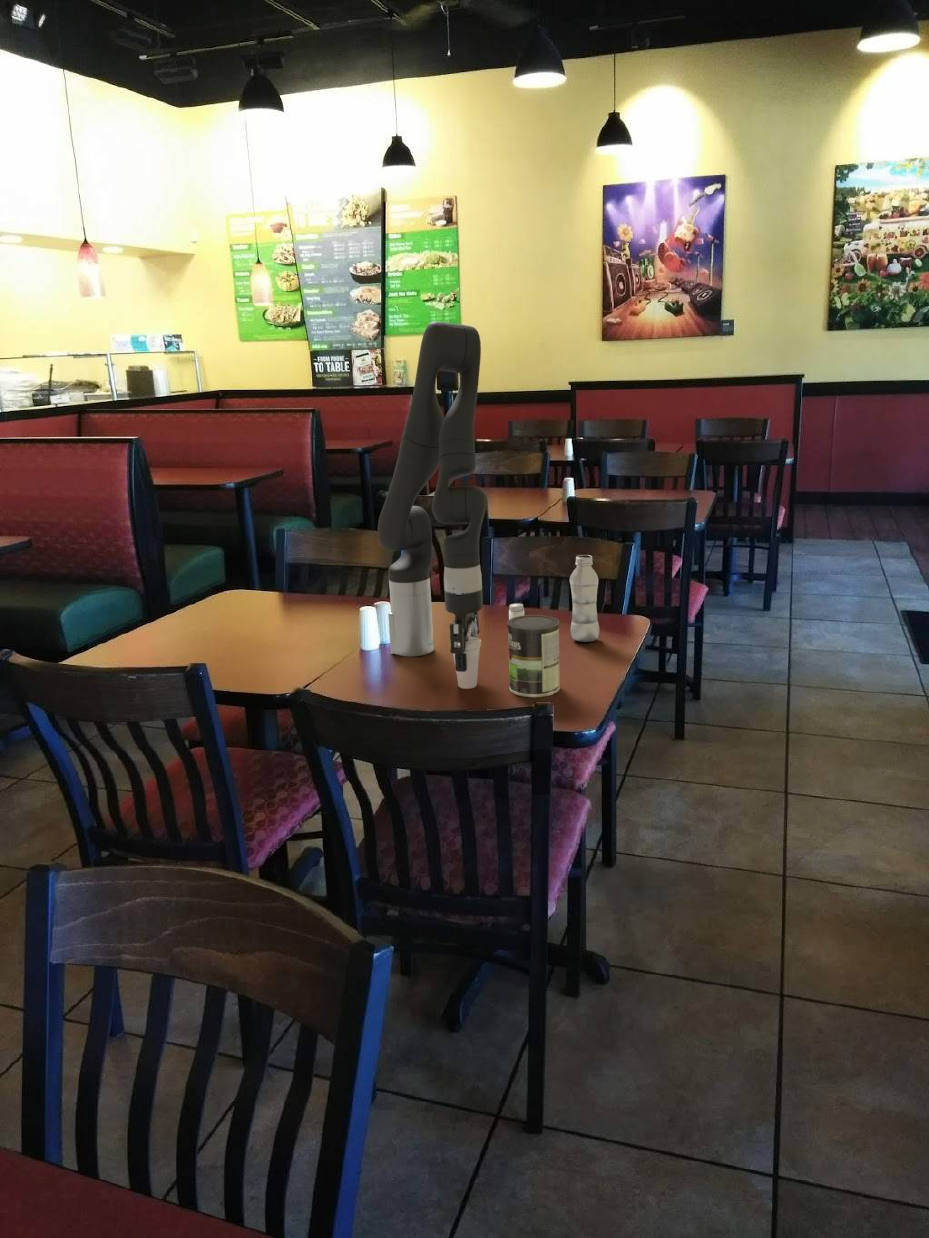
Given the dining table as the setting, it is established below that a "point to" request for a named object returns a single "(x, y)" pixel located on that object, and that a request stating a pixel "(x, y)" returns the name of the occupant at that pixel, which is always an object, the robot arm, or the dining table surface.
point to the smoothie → (470, 664)
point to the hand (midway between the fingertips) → (466, 664)
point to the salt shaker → (516, 610)
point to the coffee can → (533, 655)
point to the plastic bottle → (584, 600)
